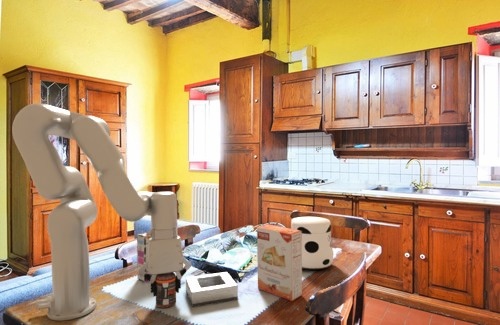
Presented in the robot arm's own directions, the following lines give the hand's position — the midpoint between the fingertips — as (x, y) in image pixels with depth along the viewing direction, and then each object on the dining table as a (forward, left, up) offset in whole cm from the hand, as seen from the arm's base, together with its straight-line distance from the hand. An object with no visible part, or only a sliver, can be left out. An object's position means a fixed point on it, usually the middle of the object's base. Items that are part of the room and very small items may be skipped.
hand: (165, 292), depth 98 cm
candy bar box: (-2, +24, -4) cm, 24 cm away
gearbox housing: (+14, +1, -4) cm, 14 cm away
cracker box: (+35, -5, -4) cm, 36 cm away
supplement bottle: (0, 0, -4) cm, 4 cm away
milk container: (+57, +13, -4) cm, 59 cm away
